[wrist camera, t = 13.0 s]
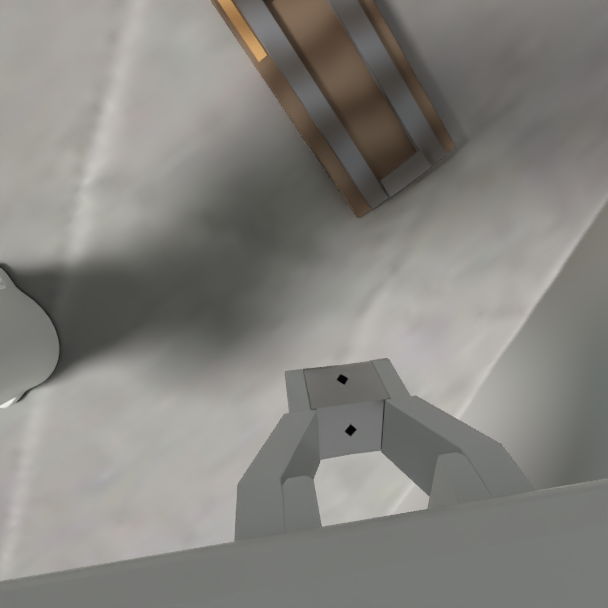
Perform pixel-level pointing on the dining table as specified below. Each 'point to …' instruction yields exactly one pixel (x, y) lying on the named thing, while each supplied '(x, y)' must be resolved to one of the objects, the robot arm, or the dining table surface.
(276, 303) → the dining table surface
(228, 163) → the dining table surface
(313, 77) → the fader console
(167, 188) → the dining table surface
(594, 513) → the robot arm
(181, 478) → the dining table surface
